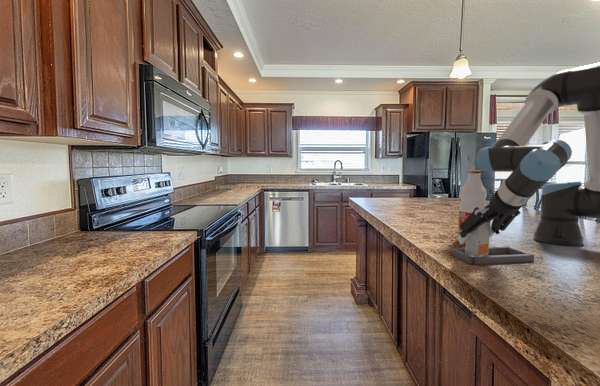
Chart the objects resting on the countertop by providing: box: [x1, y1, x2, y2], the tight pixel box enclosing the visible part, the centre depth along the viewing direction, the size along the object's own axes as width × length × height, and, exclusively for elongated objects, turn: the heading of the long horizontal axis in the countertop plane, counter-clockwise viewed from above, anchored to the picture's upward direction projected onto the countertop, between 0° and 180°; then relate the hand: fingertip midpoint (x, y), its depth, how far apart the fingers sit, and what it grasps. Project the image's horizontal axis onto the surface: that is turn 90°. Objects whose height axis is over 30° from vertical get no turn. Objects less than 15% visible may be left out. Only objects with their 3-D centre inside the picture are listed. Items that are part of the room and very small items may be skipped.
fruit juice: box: [457, 169, 488, 244], centre depth 126 cm, size 9×9×28 cm
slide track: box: [450, 245, 535, 266], centre depth 105 cm, size 21×11×2 cm, turn 97°
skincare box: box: [465, 221, 491, 256], centre depth 104 cm, size 6×4×12 cm
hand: (470, 240), depth 108 cm, fingers closed on skincare box, 7 cm apart
